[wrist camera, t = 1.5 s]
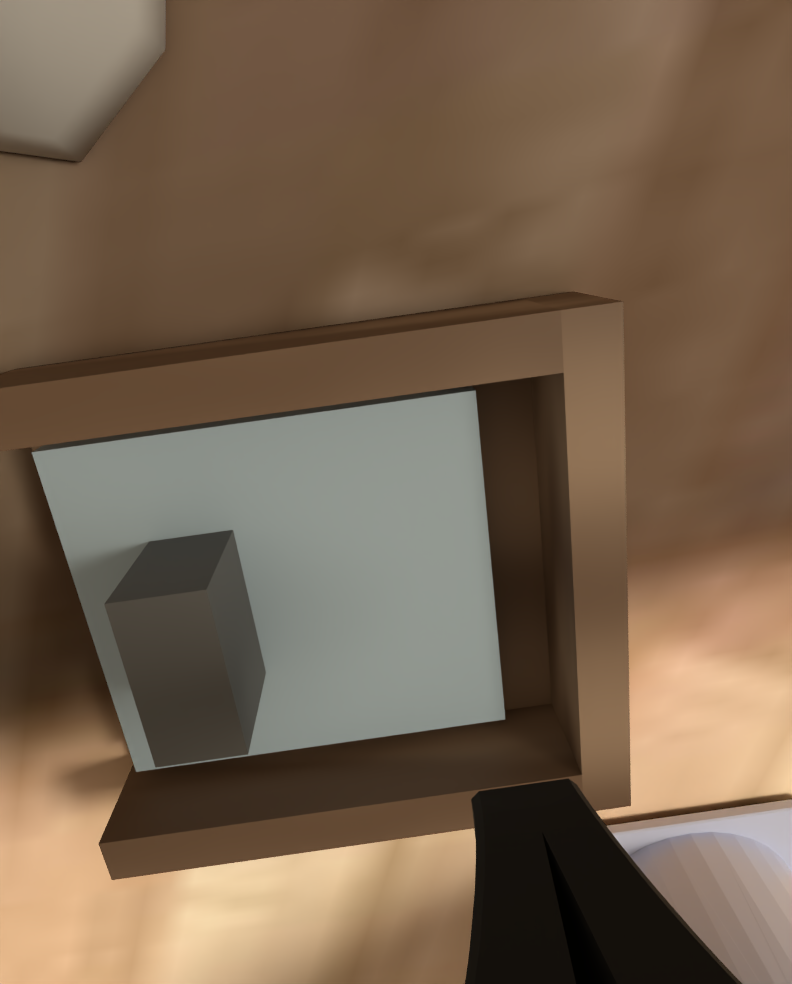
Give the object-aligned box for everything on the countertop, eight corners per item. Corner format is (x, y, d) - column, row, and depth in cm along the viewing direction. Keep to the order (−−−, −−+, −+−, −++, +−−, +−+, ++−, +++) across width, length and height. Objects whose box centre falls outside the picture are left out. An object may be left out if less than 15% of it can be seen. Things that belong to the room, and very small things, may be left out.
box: (590, 722, 20) (630, 806, 17) (148, 785, 20) (111, 879, 17) (573, 291, 16) (623, 301, 13) (14, 369, 16) (-66, 397, 13)
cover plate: (497, 696, 19) (532, 805, 15) (146, 746, 19) (95, 867, 15) (468, 382, 16) (502, 422, 12) (50, 440, 16) (-44, 498, 12)
